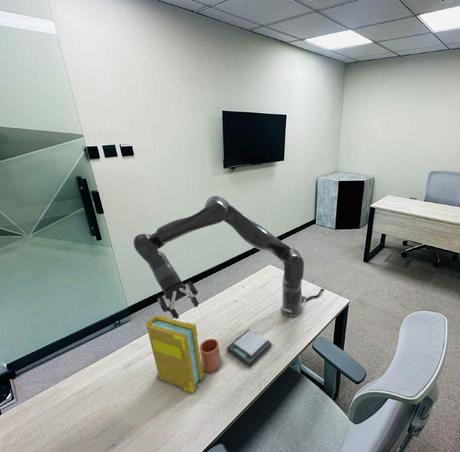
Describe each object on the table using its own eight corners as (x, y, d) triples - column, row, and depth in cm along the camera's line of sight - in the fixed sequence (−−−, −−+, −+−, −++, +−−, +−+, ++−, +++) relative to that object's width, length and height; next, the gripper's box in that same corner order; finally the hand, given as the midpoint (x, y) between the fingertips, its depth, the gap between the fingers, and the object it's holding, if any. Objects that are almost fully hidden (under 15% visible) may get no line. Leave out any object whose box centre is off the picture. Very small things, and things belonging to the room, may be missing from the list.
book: (204, 376, 100) (195, 324, 90) (192, 393, 94) (182, 339, 85) (167, 363, 105) (156, 313, 96) (154, 378, 99) (141, 326, 90)
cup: (213, 354, 109) (210, 336, 106) (224, 363, 106) (222, 344, 102) (199, 366, 104) (196, 346, 100) (210, 375, 100) (207, 356, 97)
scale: (249, 332, 121) (249, 326, 120) (271, 345, 114) (271, 340, 113) (227, 350, 111) (226, 344, 110) (249, 366, 104) (249, 361, 103)
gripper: (151, 281, 98) (173, 319, 96) (186, 266, 109) (206, 300, 107) (147, 288, 103) (168, 324, 101) (180, 273, 114) (199, 305, 112)
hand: (187, 312), depth 104 cm, fingers open, 8 cm apart
